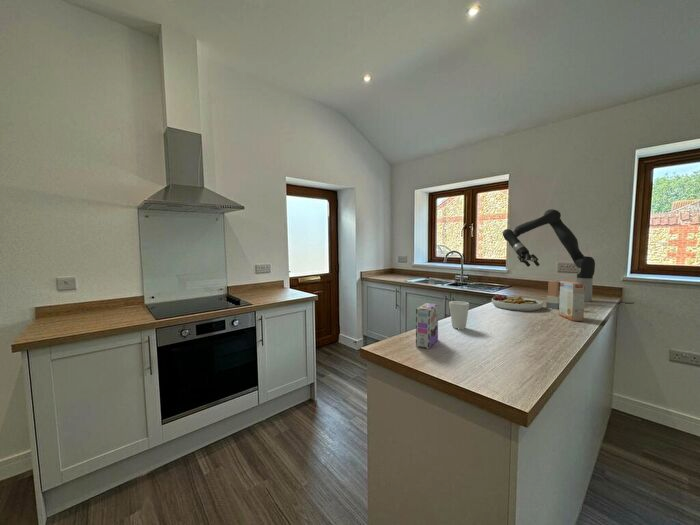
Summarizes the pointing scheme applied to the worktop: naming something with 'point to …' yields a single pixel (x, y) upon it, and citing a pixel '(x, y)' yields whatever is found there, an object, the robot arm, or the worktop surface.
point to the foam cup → (459, 313)
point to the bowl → (516, 303)
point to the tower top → (553, 299)
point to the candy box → (426, 325)
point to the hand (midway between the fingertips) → (533, 265)
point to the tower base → (552, 305)
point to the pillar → (553, 288)
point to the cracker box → (571, 300)
